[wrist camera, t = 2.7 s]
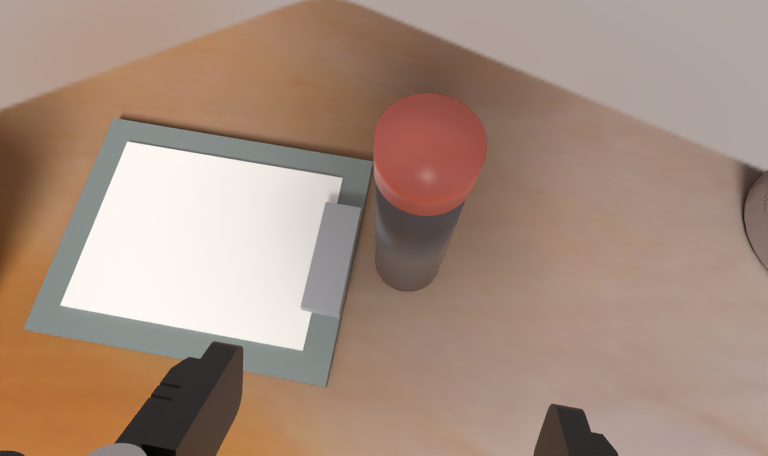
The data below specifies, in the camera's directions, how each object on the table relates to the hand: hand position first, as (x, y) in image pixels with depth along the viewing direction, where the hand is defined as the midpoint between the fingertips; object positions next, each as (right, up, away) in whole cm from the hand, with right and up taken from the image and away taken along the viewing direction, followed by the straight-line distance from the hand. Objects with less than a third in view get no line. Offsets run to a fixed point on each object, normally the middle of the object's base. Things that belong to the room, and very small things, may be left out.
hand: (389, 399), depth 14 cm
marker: (+1, +3, +16) cm, 16 cm away
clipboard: (-10, +4, +16) cm, 19 cm away
